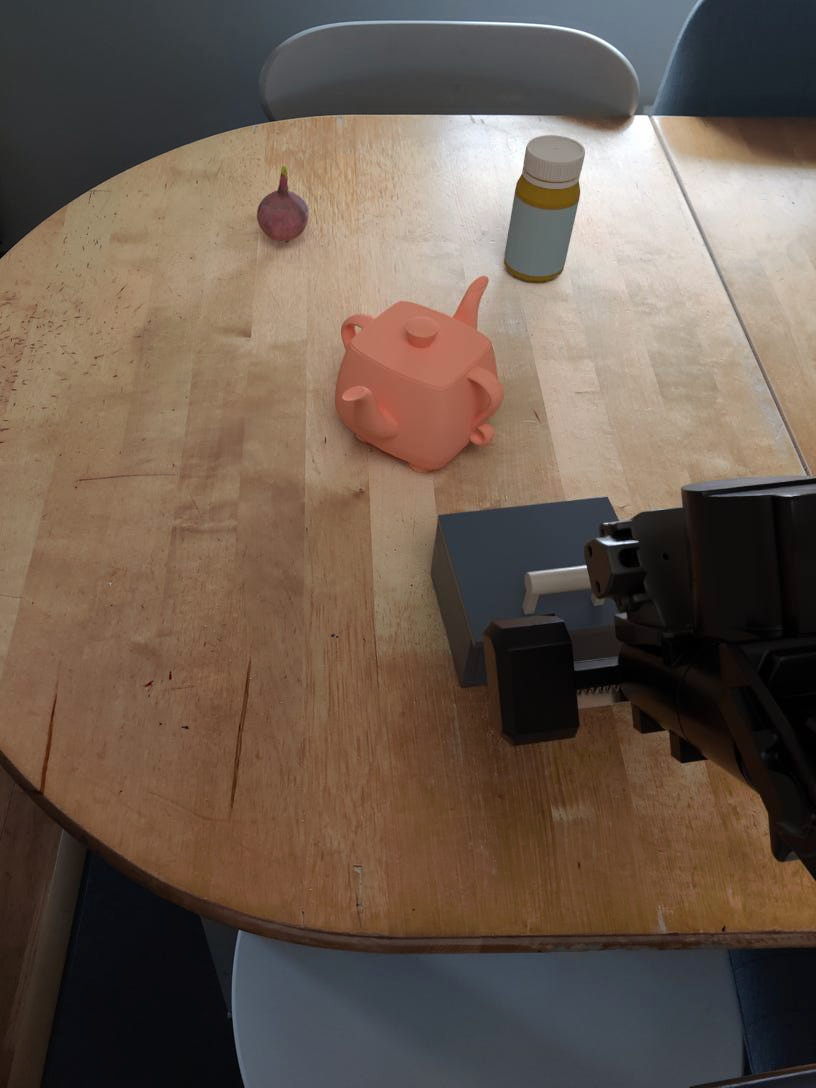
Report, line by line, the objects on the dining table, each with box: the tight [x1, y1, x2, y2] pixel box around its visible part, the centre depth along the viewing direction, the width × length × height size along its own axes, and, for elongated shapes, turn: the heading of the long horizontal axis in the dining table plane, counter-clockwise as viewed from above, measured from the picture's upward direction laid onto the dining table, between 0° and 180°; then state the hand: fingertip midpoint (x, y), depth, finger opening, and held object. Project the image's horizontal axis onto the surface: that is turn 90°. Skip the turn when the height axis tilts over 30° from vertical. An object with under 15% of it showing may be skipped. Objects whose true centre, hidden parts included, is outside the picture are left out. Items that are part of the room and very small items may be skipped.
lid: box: [436, 495, 626, 648], centre depth 64 cm, size 11×14×5 cm
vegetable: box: [256, 165, 310, 244], centre depth 104 cm, size 6×6×10 cm
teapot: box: [334, 275, 505, 473], centre depth 81 cm, size 15×17×13 cm
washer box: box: [430, 522, 623, 689], centre depth 68 cm, size 11×14×7 cm
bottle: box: [503, 134, 586, 284], centre depth 99 cm, size 7×7×15 cm
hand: (599, 628), depth 56 cm, fingers open, 9 cm apart
